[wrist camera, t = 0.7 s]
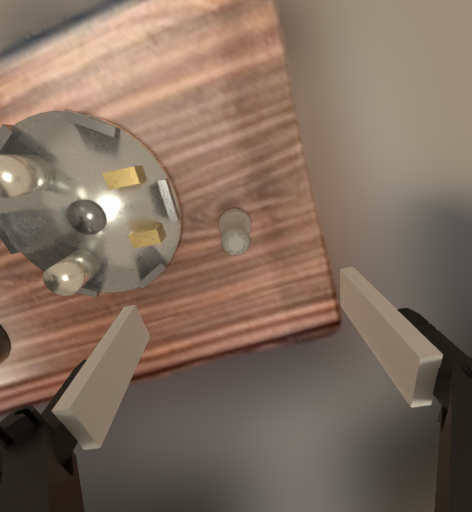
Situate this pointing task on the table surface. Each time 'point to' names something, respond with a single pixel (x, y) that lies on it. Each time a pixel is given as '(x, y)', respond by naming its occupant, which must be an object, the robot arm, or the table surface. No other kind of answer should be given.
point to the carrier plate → (86, 203)
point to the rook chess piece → (235, 231)
